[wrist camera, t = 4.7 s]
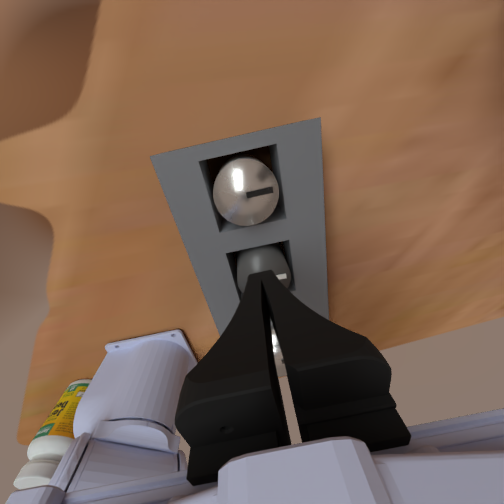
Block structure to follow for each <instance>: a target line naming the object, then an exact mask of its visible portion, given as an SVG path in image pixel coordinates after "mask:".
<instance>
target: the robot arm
mask: <svg viewBox="0 0 504 504" xmlns="http://www.w3.org/2000/svg"><path fill="white" fill-rule="evenodd" d="M270 318H271V321H272V324H273V327H274V330H275V333H276V336H277V340H278V343H279V346H280V349H281V352H282V356H283V359H284V364H285V368H286V373H287V377H288V382H289V386H290V390H291V395H292V399H293V404H294V408H295V413H296V417H297V421H298V426H299V430H300V435H301V439H302V443H299V444H294V445H291V440H290V435H289V431H288V425H287V420H286V415H285V411H284V405H283V400H282V395H281V390H280V385H279V380H278V375H277V369H276V364H275V358H274V351H273V341H272V331H271V321H270ZM174 334H175V335H174ZM105 349H106V351H107V352H108V353H107V355H106V357H105V358H104V360H103V362H102V363H101V365H100V367H99V369H98V370H97V372H96V374H95V375H94V377H93V379H92V381H91V382H90V384H89V386H88V388H87V389H86V391H85V393H84V394H83V396H82V398H81V400H80V402H79V404H78V406H77V409H76V413H75V417H74V422H73V433H74V437H75V439H73V440H72V442H71V443H70V445H69V447H68V449H67V451H66V452H65V454H64V456H63V458H62V460H61V462H60V463H59V465H58V467H57V469H56V471H55V473H54V475H53V476H52V478H51V480H50V482H49V484H48V485H42V486H36V487H31V488H26V489H21V490H16V491H14V492H13V493H12V494H11V495H10V497H9V498H8V500H7V502H6V503H5V504H504V408H502V409H497V410H492V411H487V412H481V413H476V414H471V415H466V416H461V417H456V418H451V419H446V420H440V421H435V422H430V423H425V424H420V425H415V426H409V427H406V425H405V424H404V422H403V420H402V419H401V417H400V415H399V414H398V412H397V410H396V409H395V408H396V403H395V401H394V399H393V398H392V397H391V395H390V393H389V388H390V382H391V368H390V366H389V364H388V363H387V361H386V360H385V358H384V357H383V355H382V354H381V353H380V352H379V350H378V349H377V348H376V347H375V346H374V345H373V344H372V343H371V341H370V340H369V339H368V338H367V337H364V336H362V335H360V334H357V333H355V332H352V331H350V330H347V329H345V328H343V327H341V326H339V325H337V324H335V323H333V322H331V321H330V320H328V319H326V318H324V317H323V316H321V315H319V314H318V313H316V312H315V311H313V310H312V309H310V308H309V307H308V306H306V305H305V304H304V303H302V302H301V301H300V300H299V299H298V298H296V297H295V296H294V295H293V294H292V293H291V292H290V291H289V290H288V289H287V288H286V287H285V286H284V285H283V284H282V283H281V281H280V280H279V279H278V278H277V276H276V275H275V273H274V272H273V271H272V270H267V271H262V272H258V273H253V274H249V275H248V278H247V283H246V286H245V289H244V292H243V295H242V298H241V300H240V303H239V305H238V307H237V309H236V311H235V313H234V315H233V317H232V319H231V321H230V322H229V324H228V326H227V327H226V329H225V330H224V332H223V333H222V335H221V336H220V338H219V339H218V340H217V342H216V343H215V344H214V345H213V347H212V348H211V349H210V350H209V352H208V353H207V354H206V355H205V356H204V357H203V359H202V360H201V361H200V362H199V363H198V362H197V360H196V358H195V356H194V354H193V352H192V350H191V348H190V346H189V344H188V342H187V340H186V338H185V336H184V334H183V333H182V331H181V330H172V331H167V332H163V333H158V334H153V335H148V336H143V337H138V338H133V339H128V340H123V341H118V342H113V343H108V344H107V345H106V346H105ZM176 428H177V430H178V431H179V433H180V434H181V435H182V437H183V438H184V439H185V440H186V442H187V443H188V444H189V446H190V447H191V448H190V455H189V463H188V465H187V461H186V457H185V454H184V452H183V451H182V450H178V449H179V443H180V437H179V436H176V435H175V432H176Z"/></svg>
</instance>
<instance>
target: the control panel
mask: <svg viewBox="0 0 504 504" xmlns="http://www.w3.org/2000/svg"><path fill="white" fill-rule="evenodd" d="M268 145H269V151H270V157H271V164H272V171H273V174H274V176H275V178H276V180H277V183H278V187H279V198H278V202H277V205H276V207H275V209H274V211H273V212H272V214H271V215H270V216H269V217H268V218H267V219H265V220H264V221H262V222H260V223H258V224H255V225H251V226H241V225H236V224H234V223H231V222H229V221H228V220H226V219H225V218H224V217H223V216H222V215H221V214H220V212H219V211H218V209H217V207H216V205H215V202H214V198H213V188H214V185H213V181H212V178H211V174H210V171H209V167H208V164H207V160H206V159H211V158H215V157H220V156H224V155H228V154H233V153H237V152H242V151H246V150H250V149H255V148H259V147H264V146H268ZM150 158H151V161H152V164H153V166H154V169H155V171H156V174H157V176H158V179H159V181H160V184H161V187H162V189H163V192H164V194H165V197H166V199H167V202H168V204H169V207H170V209H171V212H172V215H173V217H174V220H175V222H176V225H177V227H178V230H179V232H180V235H181V238H182V240H183V243H184V245H185V248H186V250H187V253H188V255H189V258H190V261H191V263H192V266H193V268H194V271H195V273H196V276H197V278H198V281H199V283H200V286H201V289H202V291H203V294H204V296H205V299H206V301H207V304H208V306H209V309H210V312H211V314H212V317H213V319H214V322H215V324H216V327H217V329H218V332H219V334H220V336H221V335H222V333H223V332H224V330H225V329H226V327H227V326H228V324H229V322H230V321H231V319H232V317H233V315H234V313H235V311H236V309H237V307H238V305H239V303H240V300H241V298H242V295H243V293H242V292H241V291H240V289H239V287H238V283H237V268H236V264H235V260H234V257H233V253H232V252H234V251H239V250H243V249H248V248H253V247H258V246H262V245H267V244H272V243H276V242H281V241H283V246H284V253H285V259H286V262H287V265H288V267H289V270H290V273H291V281H290V284H289V286H288V288H287V289H288V290H289V291H290V292H291V293H292V294H293V295H294V296H295V297H296V298H298V299H299V300H300V301H301V302H302V303H304V304H305V305H306V306H308V307H309V308H310V309H312V310H313V311H315V312H316V313H318V314H319V315H321V316H323V317H324V318H326V319H328V320H329V308H328V284H327V260H326V236H325V212H324V188H323V164H322V140H321V117H320V118H315V119H310V120H305V121H300V122H296V123H292V124H287V125H283V126H279V127H274V128H270V129H265V130H261V131H257V132H252V133H248V134H244V135H239V136H235V137H230V138H226V139H222V140H217V141H213V142H209V143H204V144H200V145H195V146H191V147H187V148H182V149H178V150H174V151H169V152H165V153H161V154H157V155H153V156H150Z"/></svg>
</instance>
